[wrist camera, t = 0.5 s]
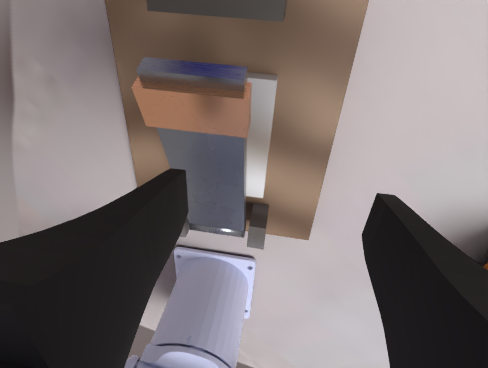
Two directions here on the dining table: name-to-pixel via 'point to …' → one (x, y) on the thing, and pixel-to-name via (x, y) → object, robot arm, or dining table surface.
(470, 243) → the dining table surface
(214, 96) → the tan and grey block
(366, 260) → the robot arm
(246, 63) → the clamp board
